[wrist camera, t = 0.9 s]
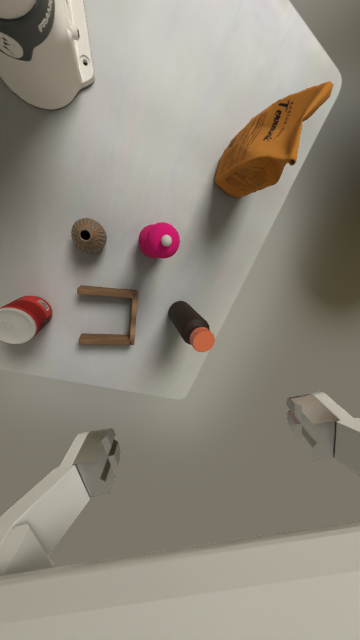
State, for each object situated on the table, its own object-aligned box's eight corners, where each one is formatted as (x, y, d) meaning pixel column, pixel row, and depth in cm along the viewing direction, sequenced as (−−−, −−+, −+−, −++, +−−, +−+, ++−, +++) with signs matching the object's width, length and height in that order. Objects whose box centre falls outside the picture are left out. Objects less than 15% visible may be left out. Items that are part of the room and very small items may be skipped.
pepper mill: (156, 262, 52) (173, 272, 34) (132, 245, 49) (136, 247, 31) (171, 238, 50) (197, 234, 32) (147, 219, 47) (160, 204, 29)
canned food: (16, 291, 46) (-14, 304, 36) (55, 299, 49) (37, 313, 39) (14, 321, 48) (-15, 341, 38) (51, 327, 51) (33, 347, 41)
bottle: (169, 324, 59) (189, 359, 41) (167, 302, 56) (187, 330, 38) (191, 320, 60) (219, 352, 42) (189, 299, 58) (219, 324, 40)
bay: (80, 285, 49) (77, 288, 45) (137, 290, 53) (137, 293, 49) (81, 337, 54) (78, 344, 50) (133, 338, 57) (134, 345, 54)
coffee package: (263, 156, 49) (357, 97, 29) (237, 205, 52) (307, 180, 32) (234, 127, 45) (319, 36, 26) (208, 180, 48) (266, 136, 28)
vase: (113, 235, 47) (111, 234, 39) (96, 258, 48) (90, 261, 40) (87, 213, 44) (79, 206, 36) (69, 237, 45) (57, 236, 37)
